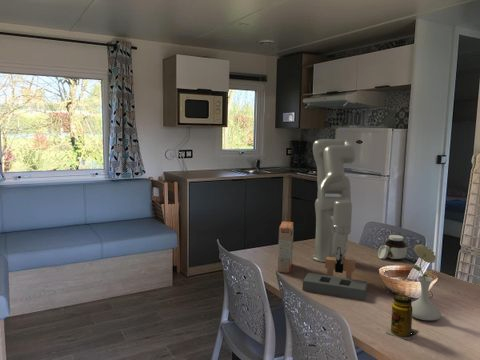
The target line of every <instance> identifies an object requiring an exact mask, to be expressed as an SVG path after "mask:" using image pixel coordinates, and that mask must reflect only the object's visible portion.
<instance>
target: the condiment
mask: <svg viewBox="0 0 480 360" xmlns="http://www.w3.org/2000/svg"><path fill="white" fill-rule="evenodd" d="M412 302H413V301H412V298H411V297H410V296H409V295H407V294H395V295H394V297H393V303H392V304H391V305H392V306H391V321H390V322H391V323H390V324H391V325H390V326H391V327H390V329H388V330H387V332H386V334H389V335H392V336H394V337H397V338H400V339H405V340H408V341H410V340H411V339H412V338H413V337H414V336H415V334H416V333H418V329H415V328H412V325H413V322H412V321H413V316H412V306H411V305H412V304H411V303H412ZM390 332H391V333H390ZM411 333H412V334H411Z"/></svg>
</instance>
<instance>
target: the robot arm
mask: <svg viewBox="0 0 480 360" xmlns="http://www.w3.org/2000/svg"><path fill="white" fill-rule="evenodd" d="M312 155H313V158H314V162H315V165H316V171H317V172H316V176H317V177H316V179H317V185H316V186H317V194H316V195H317V198H316V199H315V202H314V208H315V209H314V210H315V241H314V242H315V245H314V247H315V249H314V253H313V254H312V255H311V259H312V260H314V261H317V262H320V263H325V259H326V258H327V257H335V258H336V263H335V270H334V272H335V273H338V274H342V273H344V271H343V264H342V263H343V259H346V257H345V256H346V254H347V251H348V241H349V235H351V233H352V217H353V216H352V215H353V214H352V212H353V203H352V197H351V196H352V195H351V194H352V192H351V190H352V189H351V183H350V182H351V181H350V178H349V177H348V176H347V175H345V168H344V164H353V163H354V162H355V160H356V152H355V148H354V146H353V145H352V143H351V142H350V141H349V140H348V139H344V138H343V139H341V138H340V139H338V138H337V139H336V138H335V139H334V138H333V139H332V138H322V139H317V140H315V141H313V144H312ZM325 195H338V196H325ZM340 258H341V259H340Z"/></svg>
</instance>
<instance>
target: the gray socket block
mask: <svg viewBox="0 0 480 360" xmlns="http://www.w3.org/2000/svg"><path fill="white" fill-rule="evenodd" d="M302 291H305V292H312V293H317V294H323V295H330V296H331V295H332V296H337V297H343V298H347V299H349V298H350V299H354V300H359V301H361V300H362V301H365V299H366V295H367V292H368V281H367V280H361V279H353V278H352V279H347V278H346V277H339V276H334V275H333V276H327V274H326V275H325V274H321V273H320V274H318V273H311V272H308V273H307V274H306V276H305V277H304V278H303V280H302Z"/></svg>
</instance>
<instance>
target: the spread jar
mask: <svg viewBox="0 0 480 360" xmlns="http://www.w3.org/2000/svg"><path fill="white" fill-rule="evenodd" d="M404 238H405V237H404V236H402V235H399V234H389V235H388V239H387V240H386V241H385V244H384V245H380V247H379V248H378V250H377V257H378V258H379V259H380V260H384V259H387V260H389V261H393V262H394V261H395V262H401V261H404V259H406V257H407V253H408V252H407V249H408V248H407V243H406V242H405V240H404Z"/></svg>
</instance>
